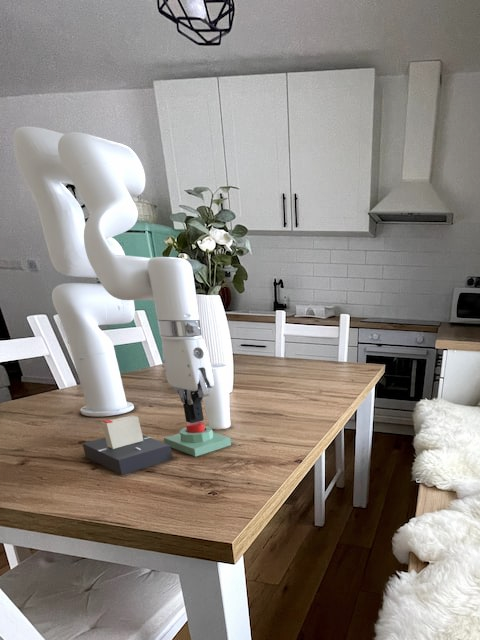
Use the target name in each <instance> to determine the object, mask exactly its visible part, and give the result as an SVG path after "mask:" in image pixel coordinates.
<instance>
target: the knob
mask: <svg viewBox="0 0 480 640" xmlns="http://www.w3.org/2000/svg"><path fill="white" fill-rule="evenodd" d="M101 426H102V430H103V433H104V434H103V435H104V438H106V442H107V446H108V447H109V448H112V449H115V448H119V447H122V446H126V445H130V444H134V443H137V442H141V441H143V436H142V435H143V431H142V427H141V423H140V418H139V416H137V415H134V414H132V415H127V416H123V417H117V418H113V419H103V420H102V421H101Z"/></svg>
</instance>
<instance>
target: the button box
mask: <svg viewBox="0 0 480 640" xmlns="http://www.w3.org/2000/svg"><path fill="white" fill-rule="evenodd" d="M204 427H205V431H203V432H200V433H188V432H187V427H186V426H185V427H183V428H181V429H179V433H176V434H173V435H169V436H165V437H163V441H164V442H163V443H166V444H168V445H170V448H171V449H175V450H177V451H180V452H183V453H185V454H188V455H190V456H193V457H196V458H197V457H198V456H199V457H200V456H203V455H205V454H208V453H212V452H214V451H217V450H220V449H224V448H226V447H229V446H231V445H232V439H231V437H229V436H225V435H223V434H220V433H216V432H214V431H213V429H212V428H211V427H209V426H208V425H204Z"/></svg>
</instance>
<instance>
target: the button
mask: <svg viewBox="0 0 480 640" xmlns="http://www.w3.org/2000/svg"><path fill="white" fill-rule="evenodd" d="M204 426H205V423H204V422H202V421H199V422H195V423H190V422H187V423H186V425H185V427H187V432H188V433H200V432H203V431H205V427H204Z"/></svg>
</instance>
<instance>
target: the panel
mask: <svg viewBox="0 0 480 640" xmlns="http://www.w3.org/2000/svg"><path fill="white" fill-rule="evenodd" d="M142 436H143V441H141V442H137V443H134V444H130V445H126V446H122V447H119V448H115V449H112V448H109V447H108V446H107V442H106V438H105V437H102V438H98V439H94V440H89V441H86V442H82V443H81V445H82V448H83V451H84V454H85V457H86V458H87V459H89V460H91V461H93V462H95V463H97V464H99V465H101V466H103V467H105V468H107V469H109V470H111V471H113V472H115V473H117V474H119V475H121V476H123V475H126V474H130V473H133V472H136V471H140V470H142V469H145V468H149V467H151V466H154V465H158V464H161V463H164V462H168V461H170V460H171V461H172V460H173V454H172V447H170V445H168V444H166V443H165V442H163V441H160V440H158V439H155V438H153V437H152V436H147V435H144V434H142Z"/></svg>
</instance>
